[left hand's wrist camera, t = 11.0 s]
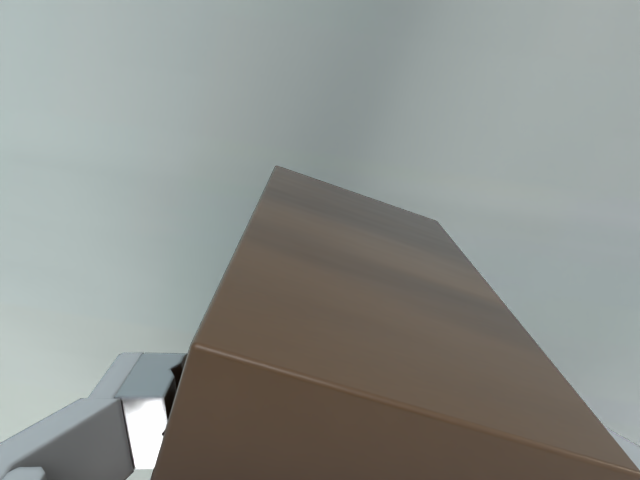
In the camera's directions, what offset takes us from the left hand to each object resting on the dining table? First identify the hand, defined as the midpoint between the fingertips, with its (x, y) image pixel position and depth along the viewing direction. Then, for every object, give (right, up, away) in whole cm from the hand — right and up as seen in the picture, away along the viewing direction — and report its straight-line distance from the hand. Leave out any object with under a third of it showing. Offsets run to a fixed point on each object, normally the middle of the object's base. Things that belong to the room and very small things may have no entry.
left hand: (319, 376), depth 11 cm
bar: (-3, -6, +6) cm, 9 cm away
